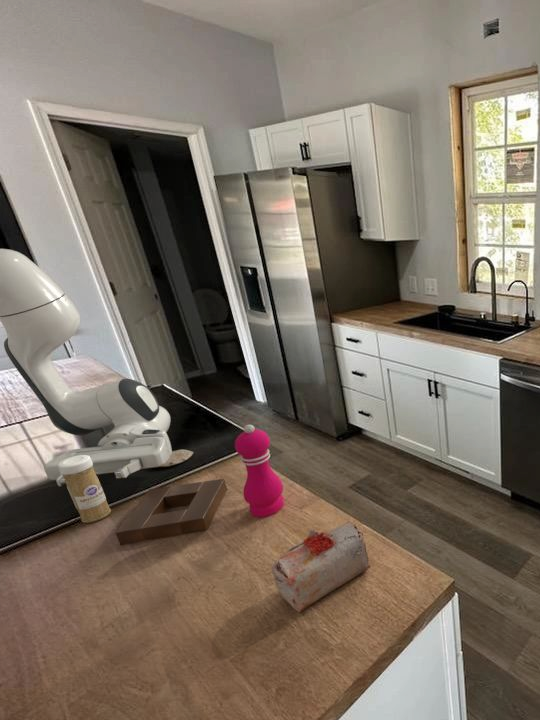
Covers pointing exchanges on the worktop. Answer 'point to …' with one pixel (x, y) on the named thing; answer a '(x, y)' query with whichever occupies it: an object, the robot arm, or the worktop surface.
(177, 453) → the flatbread
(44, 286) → the robot arm
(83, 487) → the sprinkles bottle
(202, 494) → the socket block
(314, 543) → the food item
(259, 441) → the pepper mill
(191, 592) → the worktop surface
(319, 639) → the worktop surface
